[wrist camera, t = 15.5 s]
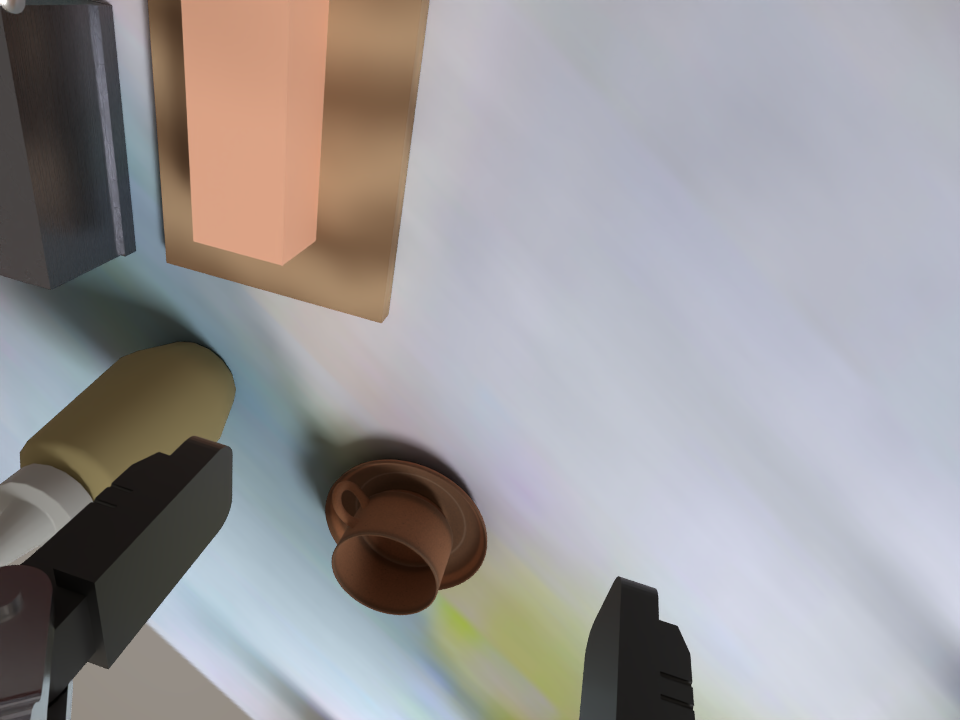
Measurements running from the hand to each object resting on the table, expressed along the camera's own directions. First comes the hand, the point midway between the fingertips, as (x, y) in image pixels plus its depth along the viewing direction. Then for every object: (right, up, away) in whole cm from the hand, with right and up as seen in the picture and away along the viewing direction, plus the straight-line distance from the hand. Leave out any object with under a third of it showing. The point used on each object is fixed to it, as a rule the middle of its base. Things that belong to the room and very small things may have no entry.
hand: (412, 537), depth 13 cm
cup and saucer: (-4, -8, +35) cm, 35 cm away
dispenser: (-24, +18, +25) cm, 39 cm away
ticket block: (-9, +18, +19) cm, 28 cm away
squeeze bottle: (-18, +2, +32) cm, 37 cm away
